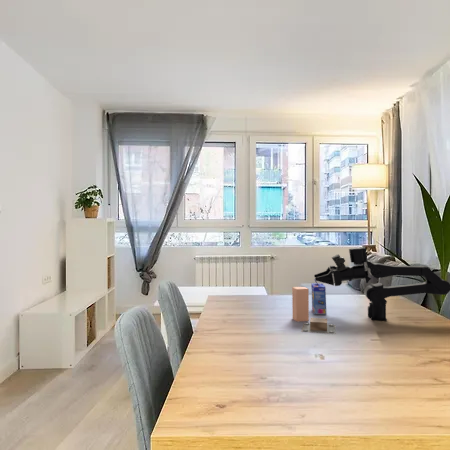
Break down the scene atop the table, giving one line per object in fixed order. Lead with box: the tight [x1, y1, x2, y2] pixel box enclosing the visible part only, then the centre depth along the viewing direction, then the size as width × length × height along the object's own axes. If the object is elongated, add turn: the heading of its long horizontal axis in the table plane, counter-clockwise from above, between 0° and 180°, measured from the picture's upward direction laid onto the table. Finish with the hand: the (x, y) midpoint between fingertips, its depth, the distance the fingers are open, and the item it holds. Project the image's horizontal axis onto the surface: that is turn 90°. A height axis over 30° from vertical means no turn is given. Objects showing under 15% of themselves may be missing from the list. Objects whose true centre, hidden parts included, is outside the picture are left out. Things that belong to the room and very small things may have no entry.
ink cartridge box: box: [311, 278, 327, 315], centre depth 177 cm, size 10×6×14 cm, turn 174°
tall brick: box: [291, 286, 310, 323], centre depth 159 cm, size 5×5×14 cm
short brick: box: [309, 317, 328, 331], centre depth 146 cm, size 6×6×3 cm
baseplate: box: [300, 322, 337, 335], centre depth 146 cm, size 12×12×2 cm
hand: (314, 277), depth 169 cm, fingers open, 9 cm apart
